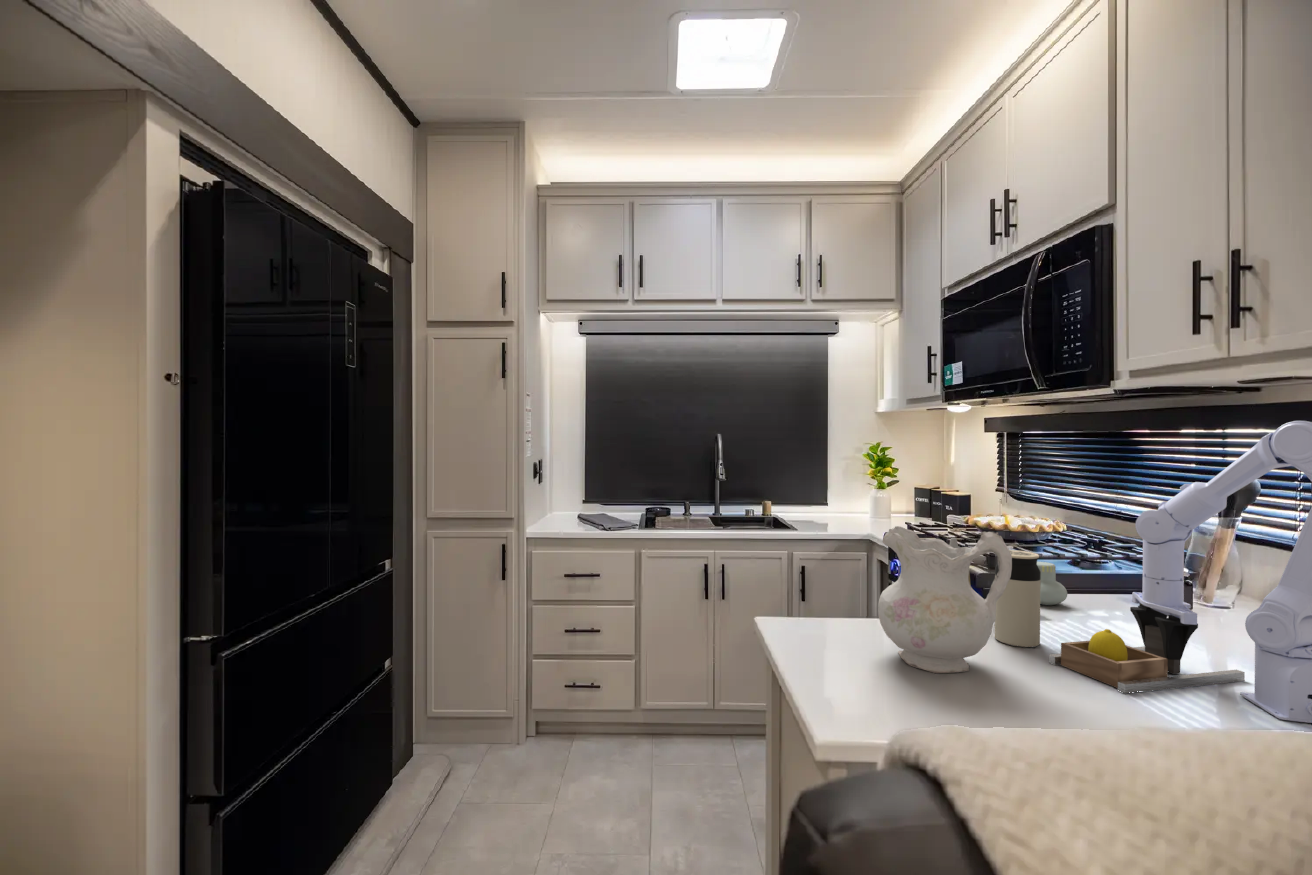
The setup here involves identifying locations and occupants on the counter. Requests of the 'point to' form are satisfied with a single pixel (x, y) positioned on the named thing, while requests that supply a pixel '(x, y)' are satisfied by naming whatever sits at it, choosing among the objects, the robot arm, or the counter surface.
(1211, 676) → the lane rails
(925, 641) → the ceramic pitcher
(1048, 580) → the air freshener
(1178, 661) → the wooden tray
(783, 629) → the counter surface
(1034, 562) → the travel mug
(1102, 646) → the lemon
